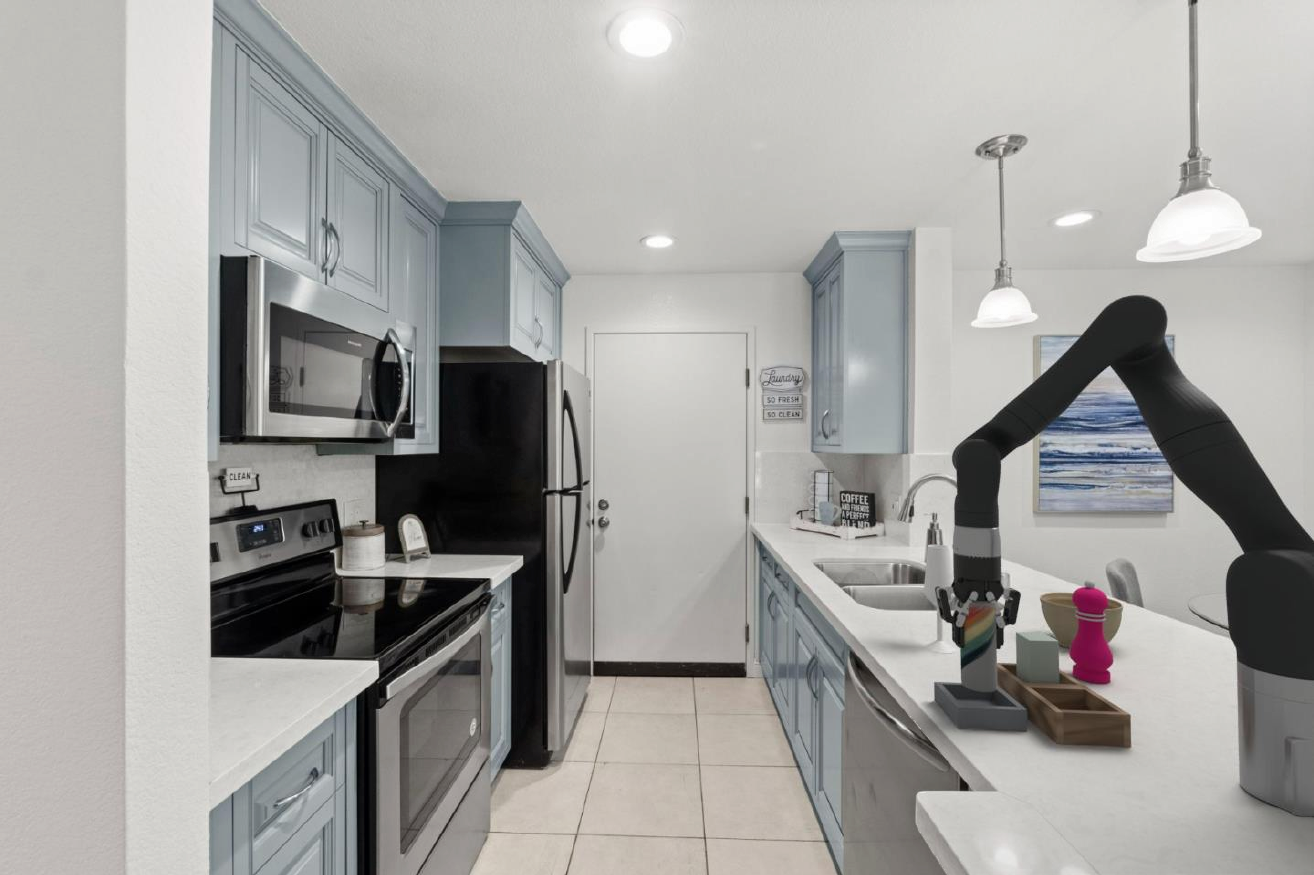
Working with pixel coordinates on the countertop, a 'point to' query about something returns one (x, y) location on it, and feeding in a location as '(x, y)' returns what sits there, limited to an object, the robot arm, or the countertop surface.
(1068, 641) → the planter bowl
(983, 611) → the lotion bottle
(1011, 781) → the countertop surface
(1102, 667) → the pepper mill
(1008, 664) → the frame
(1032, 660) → the grey-green block
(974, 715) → the tray
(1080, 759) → the countertop surface
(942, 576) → the champagne flute
